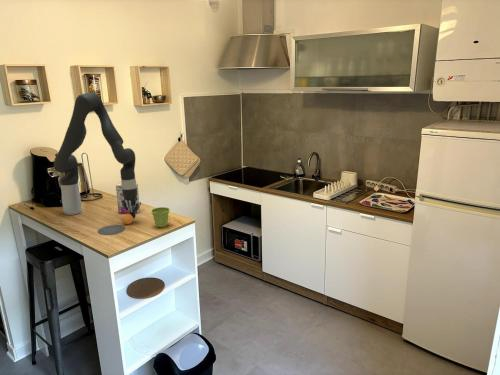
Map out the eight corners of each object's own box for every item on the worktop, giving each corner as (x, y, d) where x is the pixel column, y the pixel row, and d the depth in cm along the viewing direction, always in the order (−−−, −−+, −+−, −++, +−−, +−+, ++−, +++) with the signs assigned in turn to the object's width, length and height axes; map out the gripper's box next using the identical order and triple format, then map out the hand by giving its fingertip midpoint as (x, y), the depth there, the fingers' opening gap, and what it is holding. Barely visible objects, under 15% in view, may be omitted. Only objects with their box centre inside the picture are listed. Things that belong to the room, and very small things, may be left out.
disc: (92, 231, 189) (91, 231, 189) (112, 223, 200) (112, 223, 199) (109, 236, 182) (109, 236, 182) (130, 228, 193) (130, 227, 193)
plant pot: (151, 223, 199) (150, 208, 197) (169, 221, 202) (168, 206, 200) (153, 230, 191) (152, 213, 188) (172, 227, 194) (171, 211, 192)
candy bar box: (118, 213, 215) (115, 185, 211) (121, 210, 220) (119, 183, 216) (137, 213, 214) (134, 186, 210) (140, 211, 219) (138, 183, 215)
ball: (126, 221, 203) (118, 223, 198) (127, 211, 202) (120, 213, 197) (134, 224, 200) (127, 226, 195) (135, 214, 199) (128, 216, 194)
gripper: (114, 187, 197) (118, 218, 202) (132, 190, 191) (136, 222, 196) (125, 183, 204) (129, 214, 208) (143, 186, 197) (147, 217, 202)
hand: (132, 218), depth 202 cm, fingers closed
